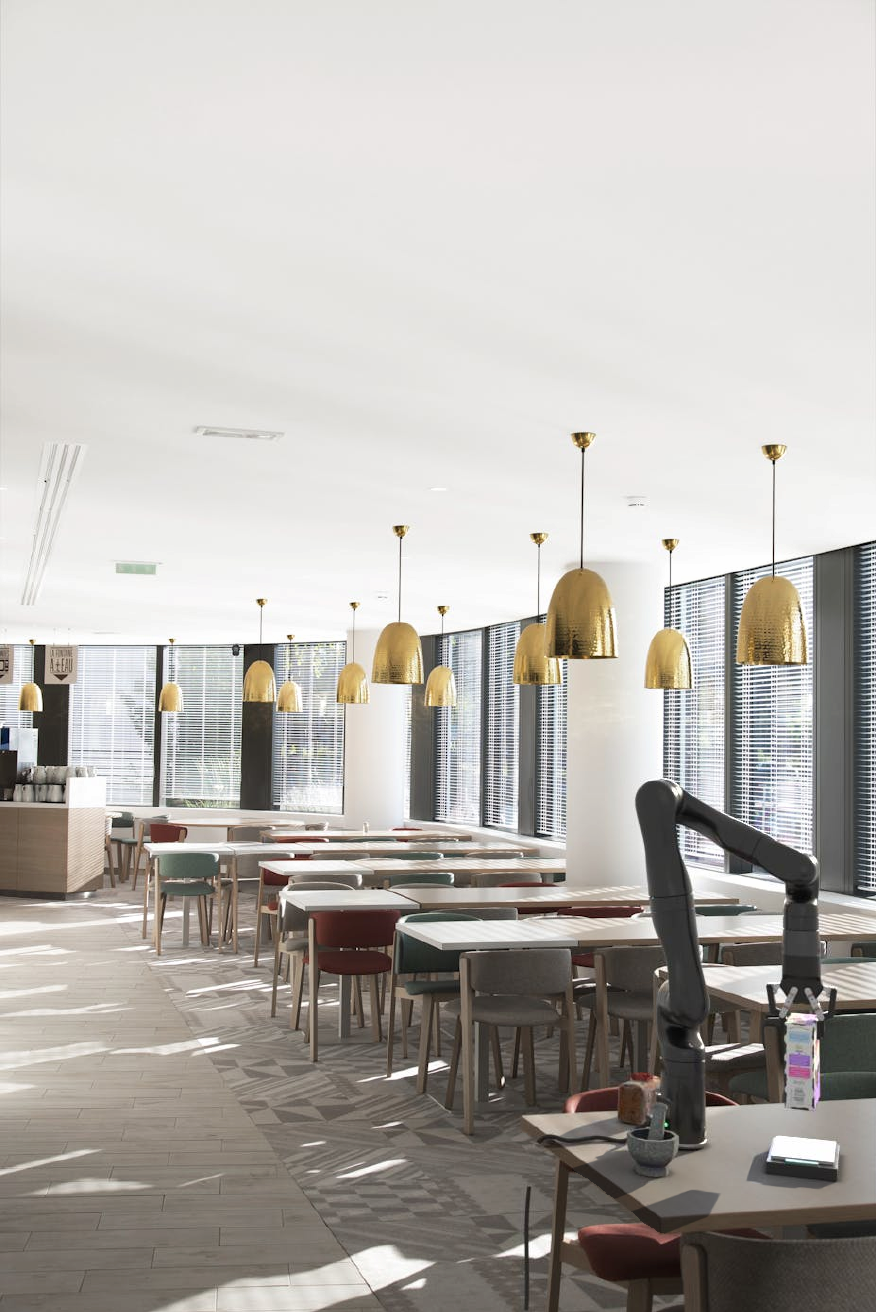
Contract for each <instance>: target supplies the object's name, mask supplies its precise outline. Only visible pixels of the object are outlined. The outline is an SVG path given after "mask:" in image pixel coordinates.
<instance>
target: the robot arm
mask: <svg viewBox="0 0 876 1312" xmlns="http://www.w3.org/2000/svg"><path fill="white" fill-rule="evenodd" d="M634 807H635V812H636V818H637V822H638V826H639V829H640V834H641V838H642V844H643V850H644V861H645V874H646V881H647V883H646V884H647V894H648V895H647V896H648V903H649V909H650V916H651V920H652V924H653V927H654V930H655V934H656V935H657V936H656V937H657V939H658V942H659V944H660V947H661V950H662V952H663V955H664V958H665V963H666V969H667V980H665V981H664V982H663V983H662V984H661V986H660V987H659V988H658V991H657V995H656V1004H655V1005H656V1006H655V1009H656V1010H655V1011H656V1012H655V1013H656V1015H655V1016H656V1037H657V1043H658V1047H659V1052H660V1053H659V1054H660V1055H659V1056H660V1057H659V1058H660V1062H659V1068H660V1069H659V1075H660V1076H659V1078H660V1094H657V1096H656V1102H660V1103H663V1104H666V1105H667V1107H668V1108H667V1111H666V1113H665V1126H664V1130H667V1131H671V1132H674V1133H675V1134H676V1135H678V1136H679V1146H678V1150H699V1149H703V1148H705V1147H707V1138H706V1137H707V1136H708V1129H707V1125H706V1121H707V1119H706V1117H707V1116H706V1115H707V1113H706V1111H707V1110H706V1106H707V1105H706V1097H707V1096H706V1095H707V1094H706V1046H705V1044H704V1042H703V1040H702V1036H701V1033H700V1026H702V1025H703V1024H704V1023H705V1022H706V1020H707V1019H708V1017H709V1014H710V1009H711V1008H710V1007H711V999H710V995H709V990H708V987H707V983H706V979H705V974H704V969H703V965H702V961H701V960H702V959H701V953H700V943H699V942H700V941H699V934H698V925H697V924H698V923H697V915H696V904H695V898H694V897H695V896H694V890H693V884H692V881H691V877H690V874H689V871H688V869H687V866H686V863H685V860H684V858H683V856H682V853H681V849H680V845H679V838H678V825H679V826H683V827H686V828H688V829H690V830H691V831H692V830H693V831H695V832H696V833H697V834H700V835H701V836H703V837H705V838H707V839H708V840H709V841H711V842H712V843H713V844H715V845H717V846H718V847H719V848H720V849H722V850H723V851H725V852H727V853H728V854H730V855H732V856H734V857H736V858H738V859H739V860H742V861H744V862H746V863H748V864H750V865H752V866H754V867H757V868H760V869H762V870H763V871H765V872H766V873H768V874H770V875H771V876H773V877H774V878H776V879H778V880H779V881H781V882H783V883H784V889H785V890H784V892H785V893H784V894H785V898H784V902H783V906H782V934H781V946H780V949H781V979H780V981H779V982H772V981H768V982H767V983H766V985H765V989H766V995H767V1002H768V1008H769V1013H770V1014H771V1015H775V1016H777V1017H778V1019H779V1033H780V1035H782V1037H783V1038H784V1024H785V1022H786V1021H787V1019H788V1017H787V1014H788V1011H789V1009H790V1007H791V1005H792V1004H794V1005H800V1004H803V1005H806V1006H810V1005H811V1008H812V1010H813V1011H814V1013H815V1015H817V1017H818V1020H817V1040H819V1041H822V1038H825V1035H826V1020H829V1019H833V1018H834V1016H835V1010H836V1003H837V996H838V995H837V994H838V987H837V986H835V985H833V986H830V985H824V983H823V980H822V949H821V947H822V944H821V935H820V913H819V894H820V880H821V879H820V878H821V872H820V871H821V870H820V869H821V868H820V864H819V861H818V860H817V858H816V856H814V855H813V854H812V853H810V852H808V851H804V850H797V849H794V848H793V847H790V846H788V845H786V844H784V843H782V842H779V841H778V840H776V838H775V837H773V836H772V835H770V834H768V833H766V832H764V831H763V830H760V829H759V828H756V827H754V826H752V825H749V824H748V823H745V822H743V821H741V820H739V819H737V818H735V817H733V816H730V815H729V814H727V813H724V812H722V811H720V810H718V809H716V808H714V807H713V806H711V805H709V804H707V803H705V802H704V801H702V800H701V799H699V798H698V797H696V796H695V795H693V794H692V793H690V792H688V790H686V789H684V788H683V787H682V786H680V785H679V784H678V783H676V782H675V781H673V780H672V779H669V778H664V777H658V778H654V779H650V780H647V781H645V782H643V783H642V784H641V785H640V786H639V787H638V789H637V791H636V792H635V796H634ZM779 989H780V990H781V991H782V992H783V994H784V995H785V997H786V998H785V1000H784V1003H783V1005H782V1007H781V1008H778V1007H777V1002H776V994H778V991H779ZM823 992H824V993H825V996H826V997H827V998H828V999H829V1000H828V1008H827V1011H824V1010H823V1009H822V1006H821V1004H820V1002H819V1000H818V998H819V997H820V995H821V994H822V993H823ZM652 1116H653V1114H651V1115H646V1122H644V1123H643V1124H641V1125H637V1126H635V1127H634V1128H633V1129H640V1128H650V1125H651V1120H652ZM546 1140H555V1141H558V1142H561V1143H565V1144H577V1143H583V1142H588V1141H603V1142H604V1141H605V1142H609V1143H614V1144H615V1143H616V1144H627V1137H625V1138H615V1137H611V1136H607V1135H601V1134H593V1135H592V1134H591V1135H585V1136H581V1137H573V1138H572V1137H565V1136H564V1137H563V1136H560V1135H557V1134H553V1133H547V1134H543V1135H542V1136H540V1137H539V1138H538V1139H537V1140H536V1141H535V1142H536V1143H543V1142H544V1141H546ZM531 1194H532V1186H530V1185H529V1186H528V1185H527V1186H526V1195H525V1203H524V1224H523V1225H524V1226H523V1248H524V1251H523V1253H524V1255H523V1256H524V1258H523V1259H524V1303H523V1310H524V1311H529V1307H530V1306H529V1304H530V1246H529V1245H530V1244H529V1243H530V1241H529V1240H530V1239H529V1238H530V1236H529V1235H530V1233H529V1229H530V1228H529V1226H530V1225H529V1223H530V1204H531Z"/></svg>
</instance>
